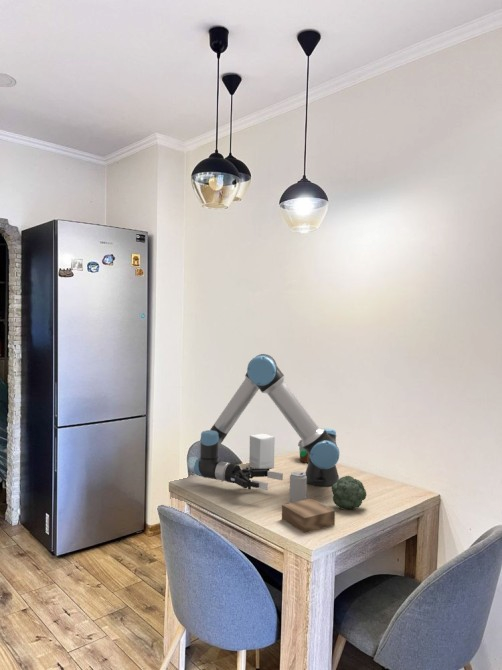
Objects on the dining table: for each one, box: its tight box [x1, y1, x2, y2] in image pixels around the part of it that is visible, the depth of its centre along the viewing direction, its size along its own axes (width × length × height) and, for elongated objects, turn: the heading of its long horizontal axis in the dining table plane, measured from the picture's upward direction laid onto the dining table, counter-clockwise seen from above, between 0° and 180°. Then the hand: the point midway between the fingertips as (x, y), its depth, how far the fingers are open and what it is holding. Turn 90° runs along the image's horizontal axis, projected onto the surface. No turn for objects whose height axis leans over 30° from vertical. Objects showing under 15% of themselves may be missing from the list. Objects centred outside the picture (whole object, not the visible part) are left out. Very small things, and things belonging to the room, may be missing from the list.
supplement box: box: [248, 433, 276, 469], centre depth 230 cm, size 9×9×15 cm
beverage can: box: [289, 470, 308, 503], centre depth 183 cm, size 6×6×12 cm
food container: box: [297, 439, 309, 465], centre depth 241 cm, size 12×6×10 cm, turn 178°
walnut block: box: [281, 498, 336, 534], centre depth 167 cm, size 13×13×5 cm
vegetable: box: [331, 475, 367, 510], centre depth 182 cm, size 12×13×15 cm
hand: (275, 481), depth 188 cm, fingers open, 13 cm apart
